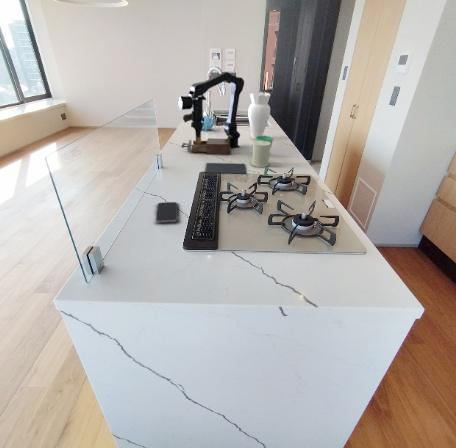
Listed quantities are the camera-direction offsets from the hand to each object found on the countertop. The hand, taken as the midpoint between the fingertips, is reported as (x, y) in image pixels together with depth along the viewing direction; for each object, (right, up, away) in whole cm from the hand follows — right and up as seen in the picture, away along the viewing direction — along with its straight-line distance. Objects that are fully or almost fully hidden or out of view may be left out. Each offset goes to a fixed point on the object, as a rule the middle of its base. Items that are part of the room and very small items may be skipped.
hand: (198, 136), depth 168 cm
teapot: (+1, +21, +52) cm, 56 cm away
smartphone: (-7, -48, -63) cm, 79 cm away
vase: (+39, +9, +32) cm, 51 cm away
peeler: (0, -6, +3) cm, 6 cm away
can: (+34, -19, -14) cm, 42 cm away
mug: (+38, -10, +2) cm, 40 cm away
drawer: (-2, -6, +4) cm, 8 cm away
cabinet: (+12, -8, +4) cm, 15 cm away
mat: (+16, -23, -21) cm, 35 cm away
